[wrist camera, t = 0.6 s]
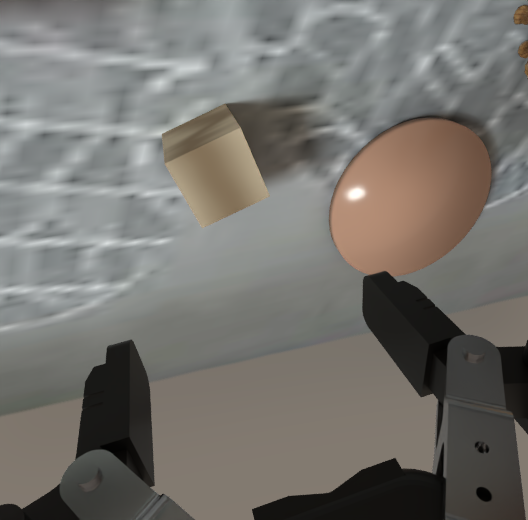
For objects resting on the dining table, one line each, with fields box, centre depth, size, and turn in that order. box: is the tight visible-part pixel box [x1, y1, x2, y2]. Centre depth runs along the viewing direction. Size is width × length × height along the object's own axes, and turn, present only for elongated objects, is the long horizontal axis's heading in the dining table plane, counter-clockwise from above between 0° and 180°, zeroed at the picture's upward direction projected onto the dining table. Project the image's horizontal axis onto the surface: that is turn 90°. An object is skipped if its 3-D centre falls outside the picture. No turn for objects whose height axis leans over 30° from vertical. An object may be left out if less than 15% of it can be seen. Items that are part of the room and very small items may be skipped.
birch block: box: [162, 104, 270, 228], centre depth 28 cm, size 5×5×6 cm
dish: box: [329, 117, 491, 276], centre depth 36 cm, size 15×15×2 cm
